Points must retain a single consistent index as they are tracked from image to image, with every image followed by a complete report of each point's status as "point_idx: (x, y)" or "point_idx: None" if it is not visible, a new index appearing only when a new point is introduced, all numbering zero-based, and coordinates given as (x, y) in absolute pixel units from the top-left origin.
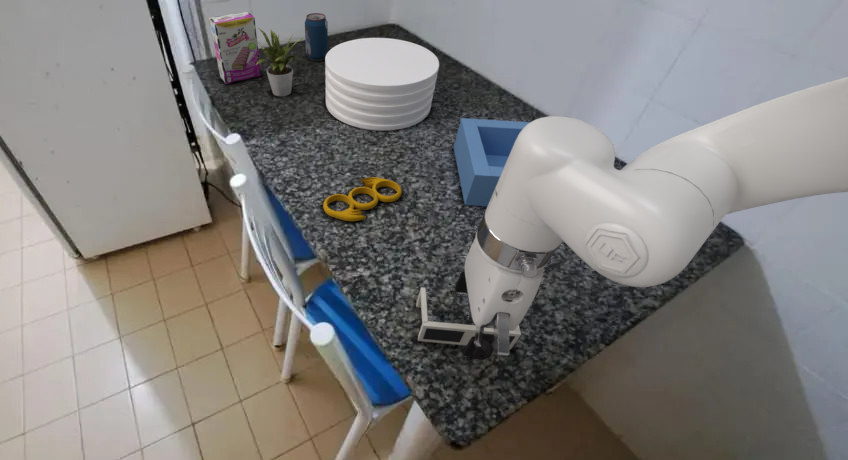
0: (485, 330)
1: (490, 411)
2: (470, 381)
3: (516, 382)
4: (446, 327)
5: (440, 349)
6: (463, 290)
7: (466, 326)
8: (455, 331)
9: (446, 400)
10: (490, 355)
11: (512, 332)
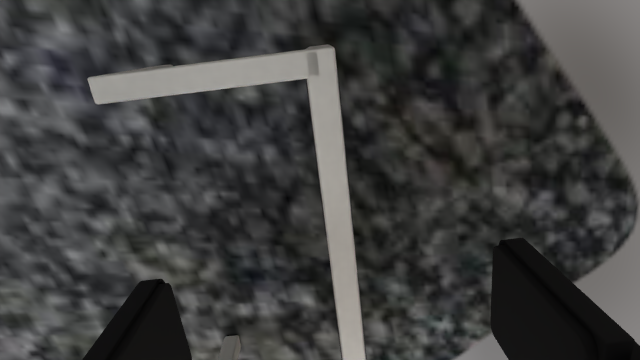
0: (346, 216)
1: (568, 132)
2: (472, 190)
3: (461, 32)
4: (364, 355)
5: (375, 275)
6: (180, 349)
7: (344, 290)
8: (361, 308)
9: None
10: (535, 250)
11: (331, 93)
